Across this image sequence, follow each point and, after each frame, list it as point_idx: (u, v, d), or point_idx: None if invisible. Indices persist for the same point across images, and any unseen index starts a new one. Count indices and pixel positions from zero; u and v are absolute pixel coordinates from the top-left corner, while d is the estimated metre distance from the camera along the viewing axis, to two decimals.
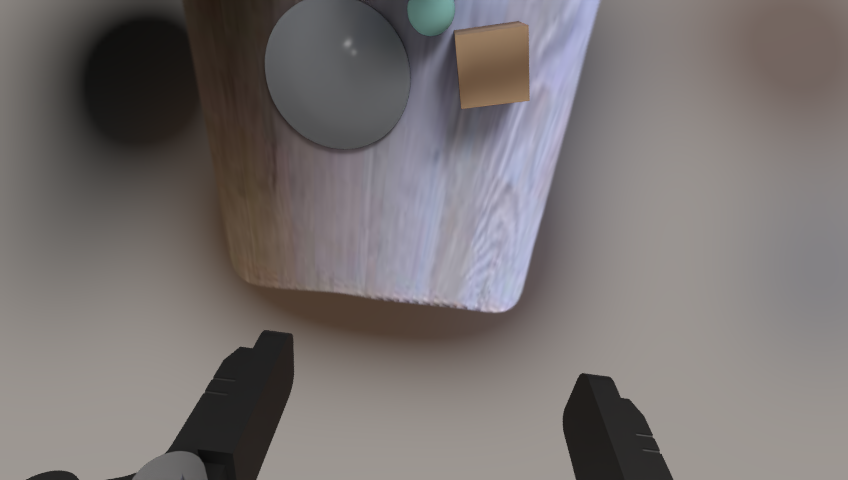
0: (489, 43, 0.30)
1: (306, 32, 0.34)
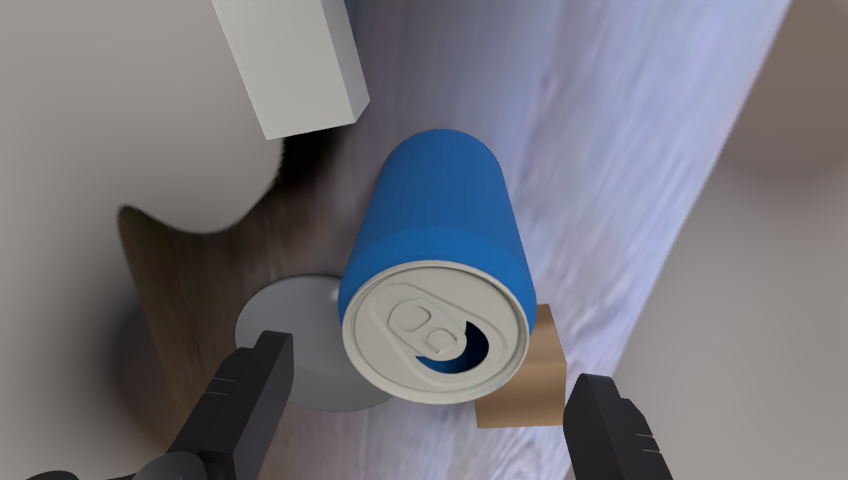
0: (515, 376, 0.24)
1: (285, 311, 0.28)
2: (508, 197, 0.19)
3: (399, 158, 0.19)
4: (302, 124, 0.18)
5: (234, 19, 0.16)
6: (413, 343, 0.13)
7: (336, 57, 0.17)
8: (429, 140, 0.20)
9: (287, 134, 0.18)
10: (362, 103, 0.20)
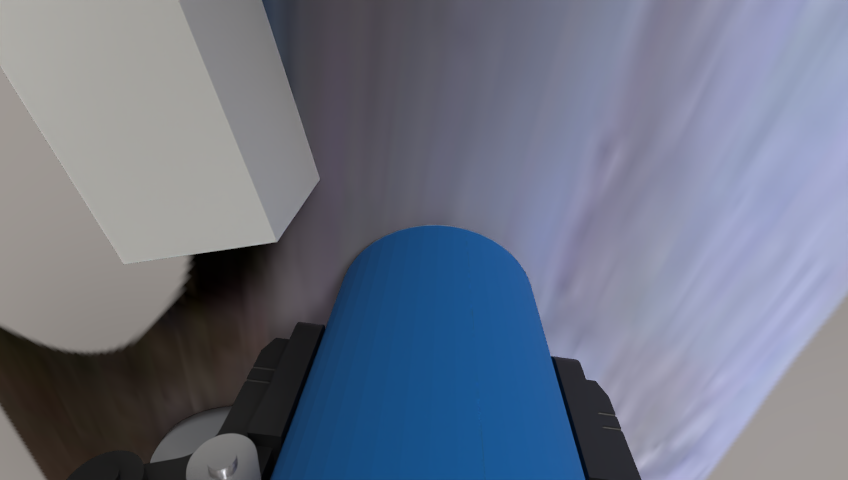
0: None
1: None
2: (552, 365, 0.11)
3: (362, 291, 0.11)
4: (183, 242, 0.10)
5: (26, 60, 0.08)
6: None
7: (233, 132, 0.09)
8: (414, 254, 0.12)
9: (159, 256, 0.10)
10: (300, 193, 0.12)
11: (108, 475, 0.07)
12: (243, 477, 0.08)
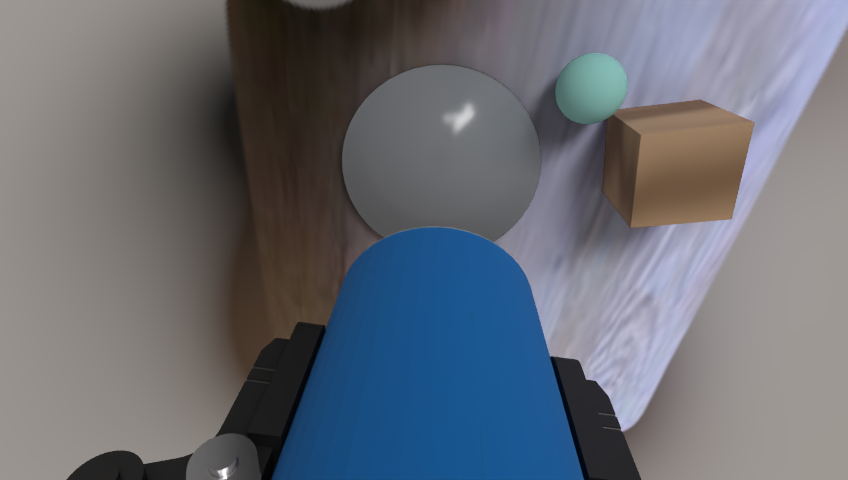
0: (690, 146, 0.21)
1: (404, 113, 0.25)
2: (551, 367, 0.11)
3: (361, 293, 0.11)
4: None
5: None
6: None
7: None
8: (414, 255, 0.12)
9: None
10: None
11: (108, 475, 0.07)
12: (243, 477, 0.08)
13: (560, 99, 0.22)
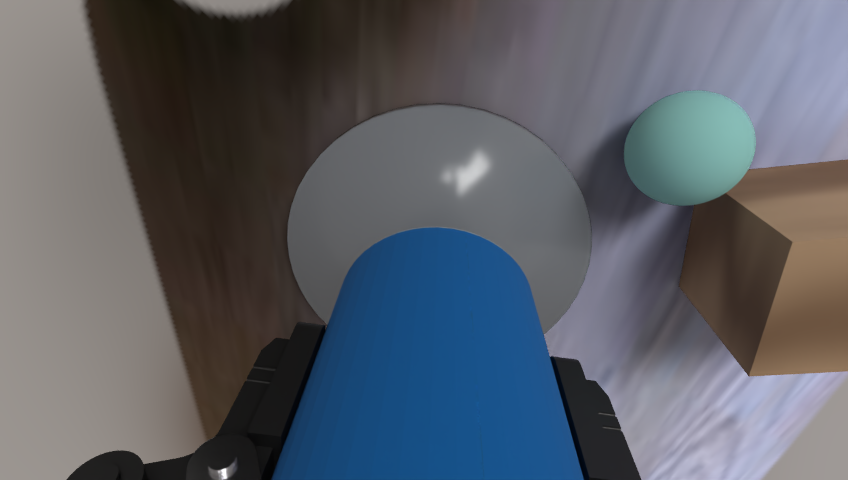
0: None
1: (379, 178, 0.16)
2: (551, 367, 0.11)
3: (361, 293, 0.11)
4: None
5: None
6: None
7: None
8: (414, 256, 0.12)
9: None
10: None
11: (108, 475, 0.07)
12: (243, 477, 0.08)
13: (636, 167, 0.13)
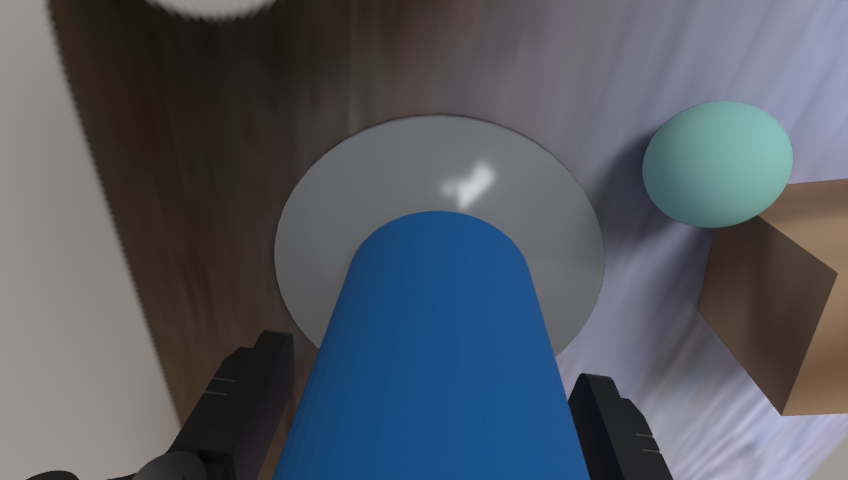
0: None
1: (373, 195, 0.14)
2: (548, 338, 0.11)
3: (369, 270, 0.12)
4: None
5: None
6: None
7: None
8: (418, 236, 0.12)
9: None
10: None
11: None
12: None
13: (658, 185, 0.12)
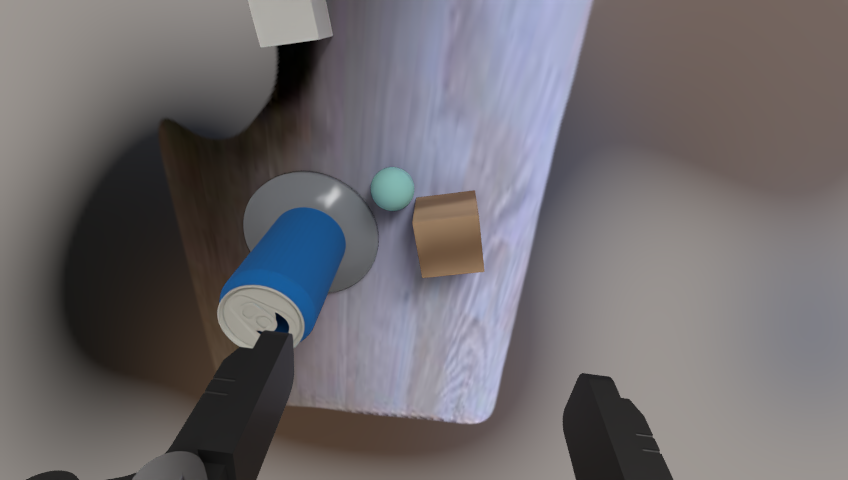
0: (444, 228, 0.33)
1: (280, 202, 0.37)
2: (330, 248, 0.34)
3: (272, 227, 0.35)
4: (285, 38, 0.28)
5: None
6: (252, 324, 0.29)
7: None
8: (290, 215, 0.35)
9: (274, 44, 0.28)
10: (326, 32, 0.30)
11: None
12: None
13: (372, 196, 0.35)
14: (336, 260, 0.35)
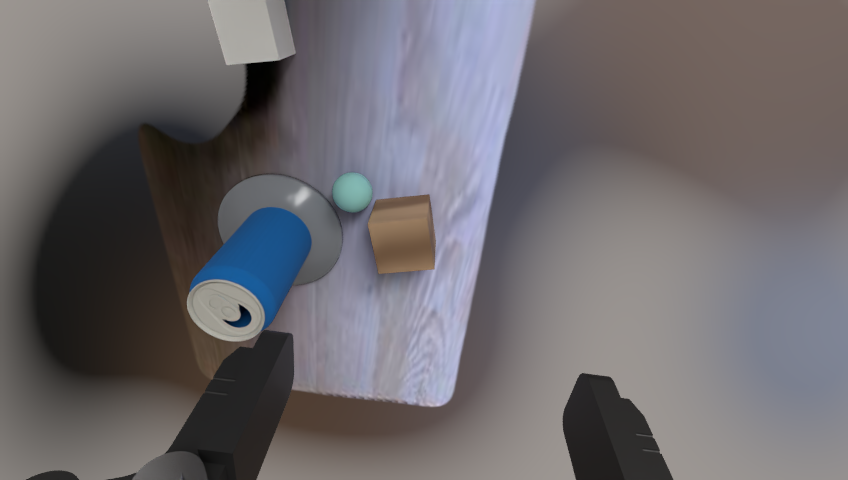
0: (396, 230, 0.36)
1: (251, 201, 0.41)
2: (294, 245, 0.37)
3: (241, 225, 0.38)
4: (248, 57, 0.31)
5: None
6: (219, 313, 0.32)
7: (270, 20, 0.30)
8: (259, 215, 0.39)
9: (239, 62, 0.32)
10: (288, 52, 0.33)
11: None
12: None
13: None
14: (300, 256, 0.38)
